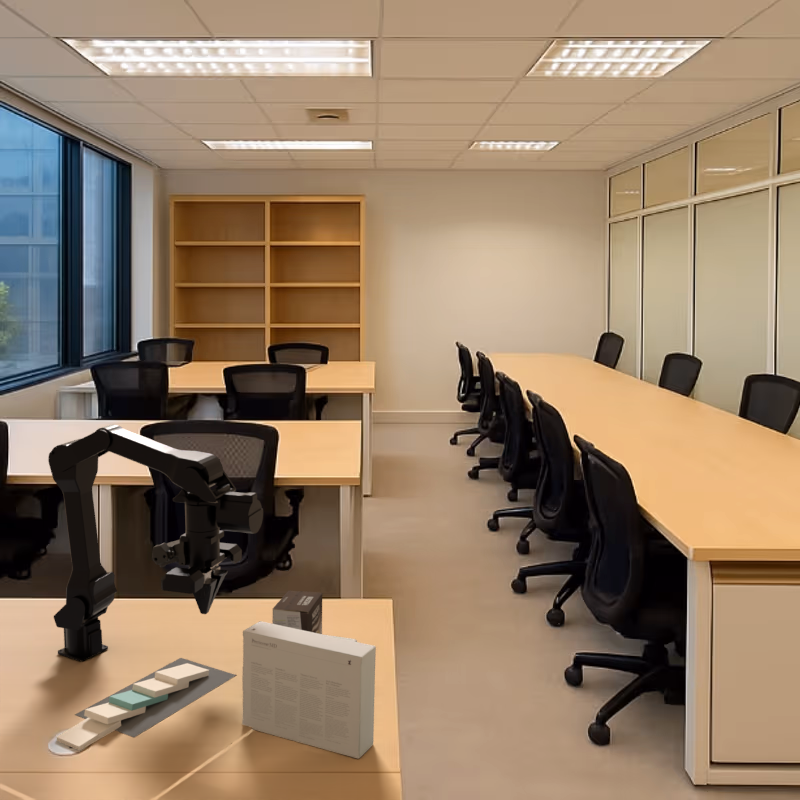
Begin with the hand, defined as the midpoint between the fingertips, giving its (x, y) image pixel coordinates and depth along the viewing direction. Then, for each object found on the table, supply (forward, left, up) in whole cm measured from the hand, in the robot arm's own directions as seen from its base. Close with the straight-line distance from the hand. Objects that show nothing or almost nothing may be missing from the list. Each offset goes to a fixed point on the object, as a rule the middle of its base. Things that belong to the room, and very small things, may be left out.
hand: (204, 613), depth 156 cm
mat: (0, -11, -11) cm, 15 cm away
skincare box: (+28, -8, -11) cm, 31 cm away
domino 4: (0, -2, -10) cm, 10 cm away
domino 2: (0, -17, -10) cm, 19 cm away
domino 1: (0, -22, -10) cm, 24 cm away
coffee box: (+18, +3, -11) cm, 21 cm away
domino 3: (0, -7, -10) cm, 12 cm away
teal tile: (0, -12, -10) cm, 15 cm away
